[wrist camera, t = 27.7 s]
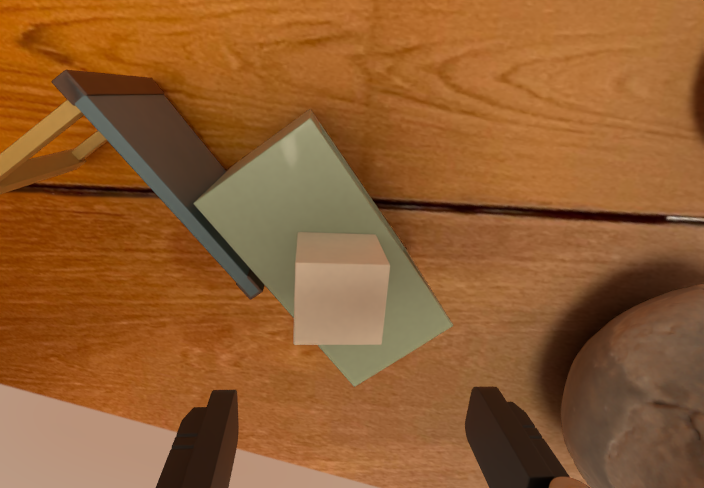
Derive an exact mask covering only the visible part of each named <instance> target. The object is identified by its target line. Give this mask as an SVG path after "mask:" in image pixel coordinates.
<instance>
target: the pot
mask: <svg viewBox="0 0 704 488" xmlns="http://www.w3.org/2000/svg"><path fill="white" fill-rule="evenodd" d="M561 424H562V431H563V436H564V441H565V444H566V447H567V449H568V451H569V453H570V455H571V457H572V458H573V460H574V463H575V465H576V467H577V469H578V470H579V472H580V474H581V475H582V477H583V478H584V479H585V480H586V482H587V483H588V485H589V486H590V487H591V488H704V284H700V285H696V286H691V287H686V288H681V289H677V290H673V291H670V292H667V293H665V294H662V295H659V296H657V297H654V298H652V299H649V300H647V301H645V302H642V303H640V304H638V305H636V306H634V307H632V308H630V309H628V310H626V311H625V312H623V313H621V314H620V315H618V316H617V317H615V318H614V319H612V320H611V321H610V322H609V323H607V324H606V325H605V326H604V327H603V328H602V329H601V330H599V331H598V332H597V333H596V334H595V335H594V336H593V337H592V338H590V339H589V340H588V341H587V342H586V343H585V345H584V346H583V347H582V349H581V350H580V351H579V352H578V354H577V356H576V357H575V359H574V361H573V363H572V366H571V368H570V371H569V374H568V377H567V380H566V384H565V388H564V392H563V398H562V404H561Z"/></svg>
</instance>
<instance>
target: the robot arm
mask: <svg viewBox="0 0 704 488" xmlns="http://www.w3.org/2000/svg"><path fill="white" fill-rule="evenodd" d="M465 431H466V436H467V440H468V442H469V444H470V446H471V449H472V451H473V453H474V455H475V457H476V459H477V462H478V464H479V466H480V468H481V470H482V473H483V475H484V477H485V479H486V481H487V483H488V486H489V488H590V487H588V486H587V485H585V484H584V483H582V482H580V481H578V480H576V479H573V478H570V477H569V475H568V474H567V472H566V471H565V469H564V468H563V466H562V465H561V464H560V462H559V461H558V459H557V458H556V456H555V455H554V453H553V452H552V450H551V449H550V447H549V446H548V445H547V443H546V442H545V440H544V439H542V436H541V434H540V433H539V431H538V430H537V428H535V426H534V424H533V423H532V421H531V420H530V418H529V417H528V415H527V414H526V413H525V412H524V411H523V410H522V409H521V408H519V407H518V406H517V405H516V404H515V403H513V402H507V401H506V400H505V398H504V397H503V395H502V394H501V392H500V391H499V389H498V388H497V387H474V388H473V389H472V392H471V396H470V401H469V406H468V411H467V416H466V421H465ZM237 441H238V403H237V391H236V390H213V391H212V393H211V396H210V399H209V402H208V405H207V407H194V408H193V409H192V410H191V411H190V412H189V413H188V414H187V415H186V417H185V418H184V419H183V420H182V422H181V424H180V427H179V430H178V432H177V436H176V438H175V440H174V442H173V445H172V449H171V450H170V453H169V455H168V458H167V460H166V463H165V465H164V468H163V471H162V473H161V476H160V478H159V481H158V483H157V486H156V488H228V487H229V482H230V477H231V472H232V467H233V463H234V458H235V453H236V448H237Z"/></svg>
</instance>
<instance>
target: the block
mask: <svg viewBox="0 0 704 488" xmlns="http://www.w3.org/2000/svg"><path fill="white" fill-rule="evenodd" d="M389 272H390V264H389V262H388V260H387V258H386V256H385V253H384V251H383V249H382V247H381V245H380V243H379V241H378V238H377V236H376V235H375V234H346V233H315V232H298V235H297V247H296V259H295V293H294V345H381V344H382V337H383V327H384V318H385V309H386V300H387V291H388V281H389Z"/></svg>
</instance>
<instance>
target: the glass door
mask: <svg viewBox="0 0 704 488" xmlns="http://www.w3.org/2000/svg"><path fill="white" fill-rule="evenodd" d="M52 83H53V84H54V85H55V86H56V87H57V89H58V90H59V91H60V92H61V93H62V94H63V95H64V96H65V97H66V98H67V101H65V102H64V103H63V104H62V105H60V106H59V107H58V108H57V109H55V110H54V111H53V112H52V113H51V114H49V115H48V116H47V117H46V118H44V119H43V120H42V121H41V122H39V123H38V124H37V125H36V126H34V127H33V128H32V129H31V130H30V131H28V132H27V133H26V134H25V135H23V136H22V137H21V138H20V139H18V140H17V141H16V142H15V143H13V144H12V145H11V146H10V147H9V148H7V149H6V150H5V151H4V152H2V153H1V154H0V194H2V193H6V192H9V191H12V190H15V189H18V188H21V187H24V186H27V185H30V184H33V183H36V182H39V181H42V180H45V179H48V178H51V177H54V176H58V175H61V174H64V173H67V172H70V171H73V170H76V169H77V168H79V167H80V166H81V165H83V164H84V163H85V162H86V159H85V158H86V157H88V156H89V155H90V154H91V153H93V152H94V151H95V150H97V149H98V148H99V147H100V146H102V145H103V144H104V143H106V142H107V141H108V142H109V143H110V144H111V145H112V146H113V147H114V148H115V149H116V151H117V152H118V153H119V154H120V155H121V156H122V157H123V158H124V159H125V160H126V162H127V163H128V164H129V165H130V166H131V167H132V168H133V169H134V170H135V171H136V173H137V174H138V175H139V176H140V177H141V178H142V179H143V180H144V181H145V182H146V184H147V185H148V186H149V187H150V188H151V189H152V190H153V191H154V192H155V193H156V195H157V196H158V197H159V198H160V199H161V200H162V201H163V202H164V203H165V204H166V206H167V207H168V208H169V209H170V210H171V211H172V212H173V213H174V214H175V215H176V217H177V218H178V219H179V220H180V221H181V222H182V223H183V224H184V225H185V226H186V228H187V229H188V230H189V231H190V232H191V233H192V234H193V235H194V236H195V237H196V239H197V240H198V241H199V242H200V243H201V244H202V245H203V246H204V247H205V248H206V250H207V251H208V252H209V253H210V254H211V255H212V256H213V257H214V258H215V259H216V261H217V262H218V263H219V264H220V265H221V266H222V267H223V268H224V269H225V270H226V272H227V273H228V274H229V275H230V276H231V277H232V278H233V279H234V280H235V281H236V282H237V283H236V285H237V286H238V287H239V288H240V289H241V290H242V291H243V292H244V294H245V295H246V296H247V297H248V298H249V299H250V300H251V299H253V298H254V297H255V296H257V295H258V294H260V293H261V292H263V288H264V284H263V282H262V281H261V280H260V279H259V278H258V277H257V276H256V274H255V273H254V272H253V271H252V270H251V269H250V268H249V266H248V265H247V264H246V263H245V262H244V261H243V260H242V258H241V257H240V256H239V255H238V254H237V253H236V252H235V250H234V249H233V248H232V247H231V246H230V245H229V244H228V243H227V241H226V240H225V239H224V238H223V237H222V236H221V235H220V233H219V232H218V231H217V230H216V229H215V228H214V227H213V225H212V224H211V223H210V222H209V221H208V220H207V219H206V217H205V216H204V215H203V214H202V213H201V212H200V211H199V210H198V208H197V207H196V206H195V205H194V202H195V201H196V200H197V199H198V198H199V197H200V196H201V195H202V194H203V193H204V192H206V191H207V190H208V189H209V188H210V187H211V186H212V185H213V184H214V183H215V182H216V181H217V180H218V179H219V178H220V177H221V176H222V175H224V174H225V173H226V171H225V169H224V168H223V167H222V166H221V164H220V163H219V162H218V161H217V159H216V158H215V157H214V156H213V155H212V153H211V152H210V151H209V150H208V148H207V147H206V146H205V145H204V143H203V142H202V141H201V140H200V139H199V137H198V136H197V135H196V134H195V132H194V131H193V130H192V129H191V128H190V126H189V125H188V124H187V123H186V121H185V120H184V119H183V118H182V116H181V115H180V114H179V113H178V112H177V110H176V109H175V108H174V107H173V105H172V104H171V103H170V102H169V101H168V99H167V98H166V97H165V96H164V92H163V91H162V90H161V89H160V87H159V86H158V85H157V84H156V82H155V81H154V80H153V79H152V78H147V77H136V76H126V75H115V74H105V73H95V72H84V71H74V70H65V71H63V72H62V73H61V74H60V75H58V76H57V77H56V78H55V79H54V80H52ZM83 115H85V116H86V118H87V119H88V120H89V121H90V122H91V123H92V124H93V125H94V126H95V127H96V129H97V130H98V131H97V132H96V133H94V134H93V135H92V136H90V137H89V138H88V139H87V140H85V141H84V142H83V143H82V144H80V145H79V146H78V147H77V148H75V149H70V150H66V151H62V152H58V153H53V154H49V155H45V156H41V157H36V158H32V159H29V158H31V157H32V156H33V155H34V154H36V153H37V152H38V151H39V150H41V149H42V148H43V147H45V146H46V145H47V144H48V143H50V142H51V141H52V140H53V139H55V138H56V137H57V136H58V135H60V134H61V133H62V132H63V131H65V130H66V129H67V128H68V127H70V126H71V125H72V124H73V123H75V122H76V121H77V120H78V119H80V118H81V117H82V116H83Z"/></svg>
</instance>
